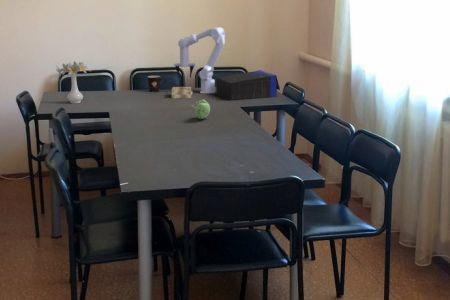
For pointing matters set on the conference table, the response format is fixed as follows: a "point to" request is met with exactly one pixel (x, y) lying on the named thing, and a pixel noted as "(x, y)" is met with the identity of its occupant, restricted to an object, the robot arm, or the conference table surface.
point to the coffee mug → (154, 83)
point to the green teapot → (202, 109)
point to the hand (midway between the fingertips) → (184, 77)
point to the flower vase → (73, 80)
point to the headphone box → (247, 86)
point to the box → (181, 92)
